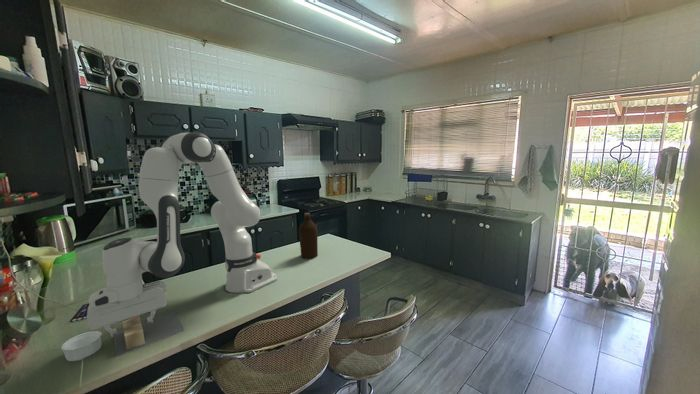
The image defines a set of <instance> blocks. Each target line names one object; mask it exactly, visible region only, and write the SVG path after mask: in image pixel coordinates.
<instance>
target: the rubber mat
mask: <svg viewBox="0 0 700 394" xmlns="http://www.w3.org/2000/svg"><path fill="white" fill-rule="evenodd" d="M141 325H142V329H143V334H144V340H145V344H143V345H140V346H137V347H135V348H132V349H130V350H127V348H126V342H125V336H124V328H123V329H120V330H116V331H117V335H116V336H113V344H114V345H113V346H114V347H113V348H114V358H118V357H121V356H123V355H126V354H128V353H131V352H134V351H137V350H139V349H141V348H143V347H147V346H150V345H151V344H153V343H154V344H155V343H157V342H159V341H162V340H165V339H167V338H170V337H171V336H174V335H177V334H180V333H182V332H185V329H184V326H183V325H182V322H181V320H180V318H179V317H178V315H177V312H176V311H173V312H170V313H167V314H164V315H162V316H161V315H160V316H157V317H154V318H153V323H151V324H148V323H147V320H146V321H143V322H141Z"/></svg>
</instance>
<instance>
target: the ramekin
mask: <svg viewBox="0 0 700 394" xmlns="http://www.w3.org/2000/svg"><path fill="white" fill-rule="evenodd" d="M101 347H102V332H101V331H97V330H95V331H94V330H90V331H87V332H83V333H81V334H78V335H75V336H73V337H71V338H69V339H67V340H66V341H64V343H63V344H62V345H61V350H62V352H63V355H64V358H65V359H66V361H67V362H78V361H81V360H84V359H85V358H87V357H89V356H91V355H93V354H95V353H96V352H98V351H99V350H100V349H101Z"/></svg>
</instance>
